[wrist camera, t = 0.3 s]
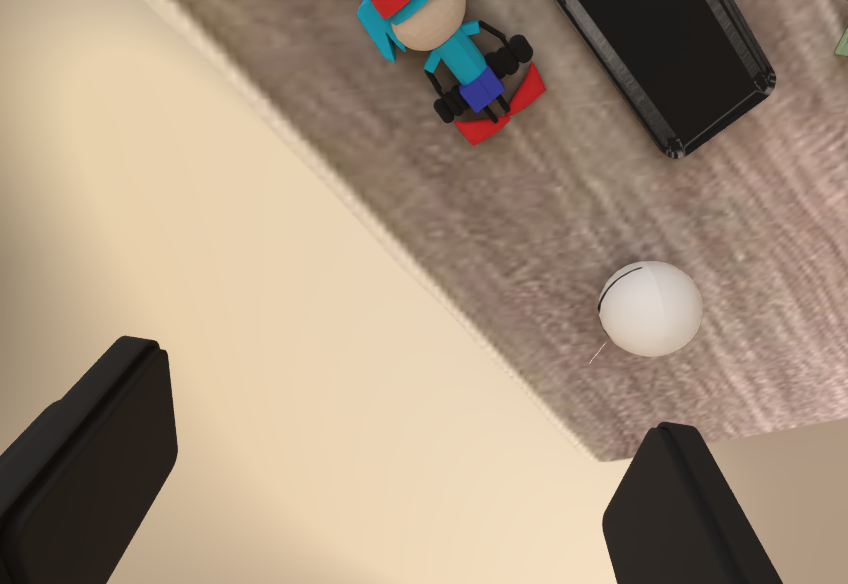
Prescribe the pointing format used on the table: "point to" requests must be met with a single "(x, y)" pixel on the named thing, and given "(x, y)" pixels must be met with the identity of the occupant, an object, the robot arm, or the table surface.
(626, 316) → the white sphere
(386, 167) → the table surface
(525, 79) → the toy figure
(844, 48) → the tray
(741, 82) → the phone
